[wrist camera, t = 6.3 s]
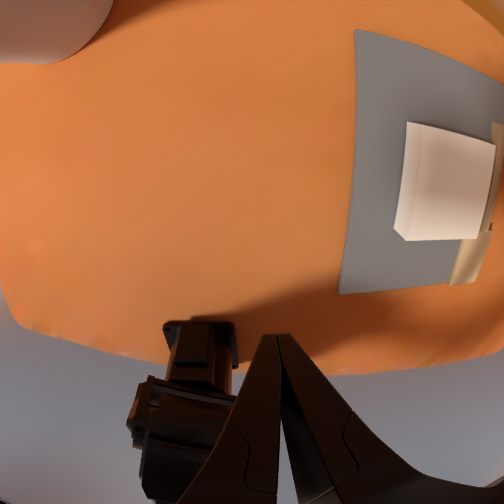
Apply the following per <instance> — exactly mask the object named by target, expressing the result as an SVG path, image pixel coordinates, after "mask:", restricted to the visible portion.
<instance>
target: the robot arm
mask: <svg viewBox="0 0 504 504" xmlns="http://www.w3.org/2000/svg"><path fill="white" fill-rule="evenodd" d="M162 329H163V332H164V335H165V338H166V341H167V344H168V347H169V349H170V352H171V353H170V357H169V362H168V367H167V372H166V377H165V380H161V379H158V378H155V377H154V376H151V375H148V378H147V382H144V383H139V385H138V389H137V393H136V396H135V400H134V403H133V406H132V408H131V410H130V413H129V416H128V418H127V423H126V426H127V428H128V429H129V430H130V432H131V433H132V435H131V438H133V448H136V449H141V450H143V451H142V457H141V464H140V471H139V478H140V480H141V482H142V488H143V490H144V492H145V494H146V496H147V498H148V499H151V500H152V501H153V503H154V504H277V496H276V495H277V489H278V471H279V450H280V425H281V421H282V426H283V431H284V436H285V441H286V446H287V450H288V455H289V460H290V464H291V470H292V474H293V479H294V484H295V489H296V494H297V498H298V503H299V504H504V476H502V477H501V478H499V479H497V480H496V481H494V482H492V483H490V484H488V485H487V486H485V487H475V486H469V485H464V484H460V483H455V482H451V481H446V480H442V479H438V478H434V477H431V476H428V475H425V474H423V473H421V472H419V471H417V470H416V469H414V468H413V467H412V466H410V465H409V464H408V463H407V462H406V461H404V460H403V459H402V458H401V457H400V456H399V455H397V454H396V453H395V452H394V451H393V450H392V449H391V448H389V447H388V446H387V445H386V444H385V443H384V442H383V441H381V440H380V439H379V438H378V437H377V436H376V435H375V434H374V433H373V432H372V431H371V430H370V429H369V428H368V427H367V426H366V424H365V423H364V422H363V421H362V420H361V419H360V418H359V416H358V415H357V414H356V413H355V412H354V411H352V408H351V407H350V406H349V405H348V403H347V402H346V401H345V400H344V399H343V398H342V396H341V395H340V394H339V393H338V392H337V390H336V389H335V388H334V387H333V385H332V384H331V383H330V382H329V381H328V379H327V378H326V377H325V376H324V375H323V373H322V372H321V371H320V370H319V368H318V367H317V366H316V365H315V364H314V362H313V361H312V360H311V359H310V357H309V356H308V355H307V354H306V352H305V351H304V350H303V349H302V348H301V346H300V345H299V344H298V343H297V341H296V340H295V339H294V338H293V336H292V335H291V334H290V333H277V334H275V333H264V334H262V336H261V338H260V341H259V343H258V346H257V349H256V351H255V354H254V356H253V359H252V361H251V364H250V366H249V369H248V371H247V374H246V376H245V379H244V381H243V384H242V386H241V388H240V391H239V393H238V396H235V395H231V392H232V389H231V388H232V369H237V368H238V367H239V363H238V354H237V344H236V335H235V326H234V324H233V323H230V322H222V323H165V324H164V325H163V328H162ZM0 504H11V503H10V502H8V501H6V500H4V499H2V498H0Z"/></svg>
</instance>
